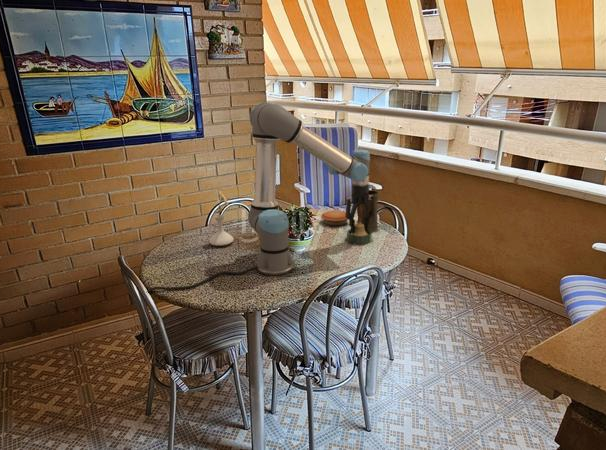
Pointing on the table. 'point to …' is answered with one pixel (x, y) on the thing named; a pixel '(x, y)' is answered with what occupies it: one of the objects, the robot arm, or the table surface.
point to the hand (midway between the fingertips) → (359, 231)
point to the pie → (334, 217)
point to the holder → (359, 238)
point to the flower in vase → (221, 228)
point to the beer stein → (373, 220)
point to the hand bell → (359, 224)
